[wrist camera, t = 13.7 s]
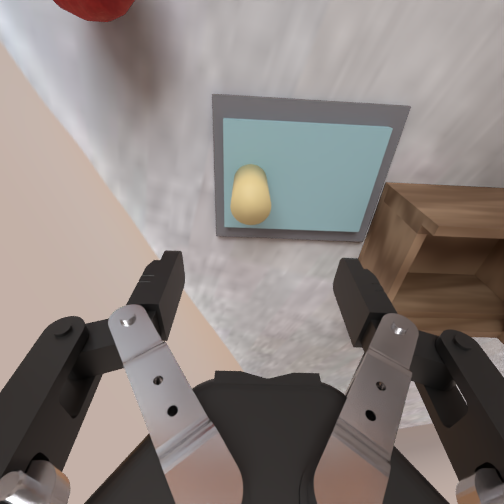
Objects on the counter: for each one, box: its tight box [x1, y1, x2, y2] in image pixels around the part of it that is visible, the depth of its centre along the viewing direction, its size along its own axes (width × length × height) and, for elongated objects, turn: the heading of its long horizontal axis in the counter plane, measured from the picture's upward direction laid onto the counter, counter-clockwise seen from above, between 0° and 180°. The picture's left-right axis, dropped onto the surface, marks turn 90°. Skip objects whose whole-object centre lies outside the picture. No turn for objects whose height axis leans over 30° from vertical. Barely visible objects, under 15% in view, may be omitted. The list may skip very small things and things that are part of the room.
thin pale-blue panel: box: [223, 118, 393, 232], centre depth 22 cm, size 10×14×6 cm
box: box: [358, 182, 504, 344], centre depth 25 cm, size 12×15×9 cm
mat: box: [212, 94, 411, 242], centre depth 25 cm, size 13×16×1 cm
